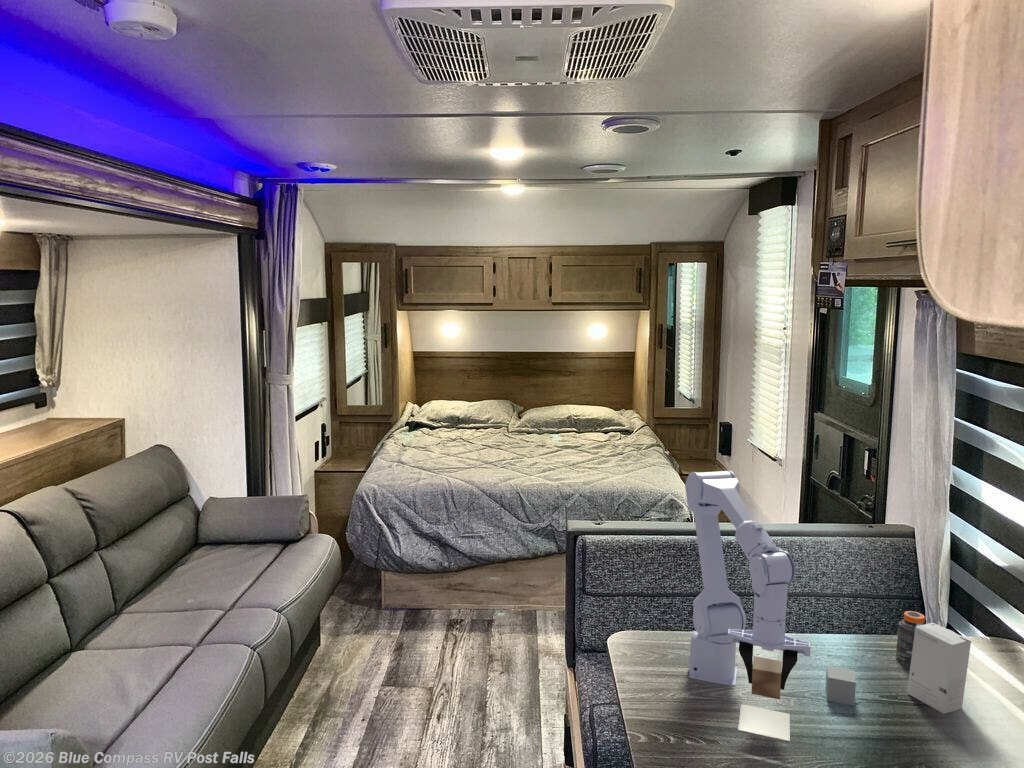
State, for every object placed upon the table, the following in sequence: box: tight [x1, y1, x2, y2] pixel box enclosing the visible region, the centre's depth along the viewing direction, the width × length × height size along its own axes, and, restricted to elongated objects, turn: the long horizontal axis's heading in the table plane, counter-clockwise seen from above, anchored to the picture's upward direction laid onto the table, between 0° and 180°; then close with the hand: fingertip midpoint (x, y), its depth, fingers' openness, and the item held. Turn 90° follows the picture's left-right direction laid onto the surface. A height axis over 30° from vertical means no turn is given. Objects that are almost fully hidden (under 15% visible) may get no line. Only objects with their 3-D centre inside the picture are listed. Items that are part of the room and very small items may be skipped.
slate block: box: [824, 665, 857, 707], centre depth 140 cm, size 5×5×5 cm
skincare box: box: [906, 622, 972, 715], centre depth 138 cm, size 8×6×15 cm
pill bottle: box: [895, 610, 926, 668], centre depth 154 cm, size 6×6×11 cm
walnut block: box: [751, 655, 782, 700], centre depth 131 cm, size 5×5×5 cm
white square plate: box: [737, 704, 791, 743], centre depth 132 cm, size 9×9×1 cm
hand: (766, 683), depth 131 cm, fingers closed on walnut block, 5 cm apart
